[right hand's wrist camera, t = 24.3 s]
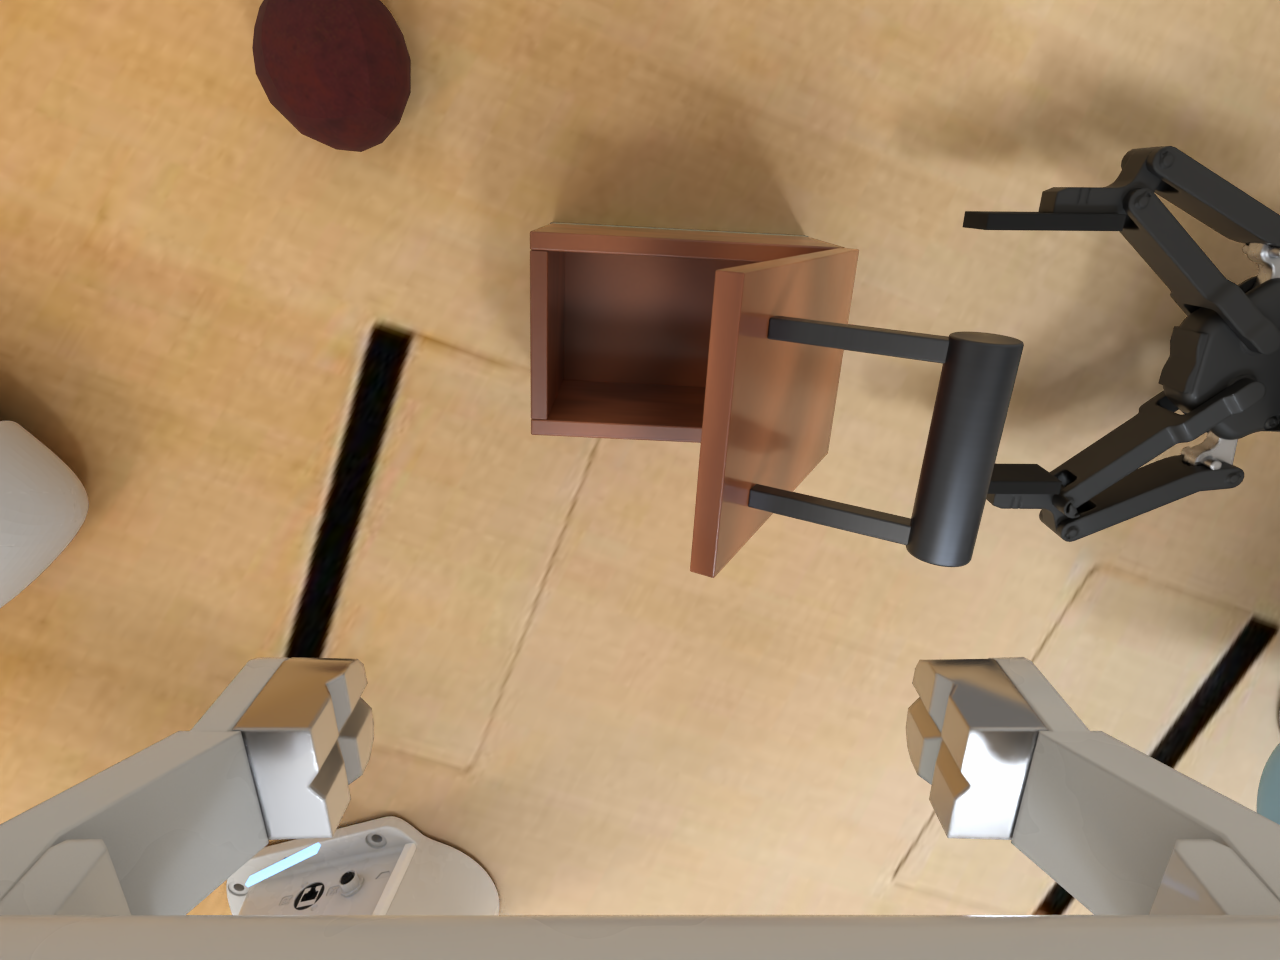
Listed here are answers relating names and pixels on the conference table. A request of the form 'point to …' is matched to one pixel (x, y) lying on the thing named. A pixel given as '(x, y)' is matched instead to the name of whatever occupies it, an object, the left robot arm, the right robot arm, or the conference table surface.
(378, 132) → the potato
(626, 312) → the chest
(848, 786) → the conference table surface
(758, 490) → the lid
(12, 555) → the white rounded casing
